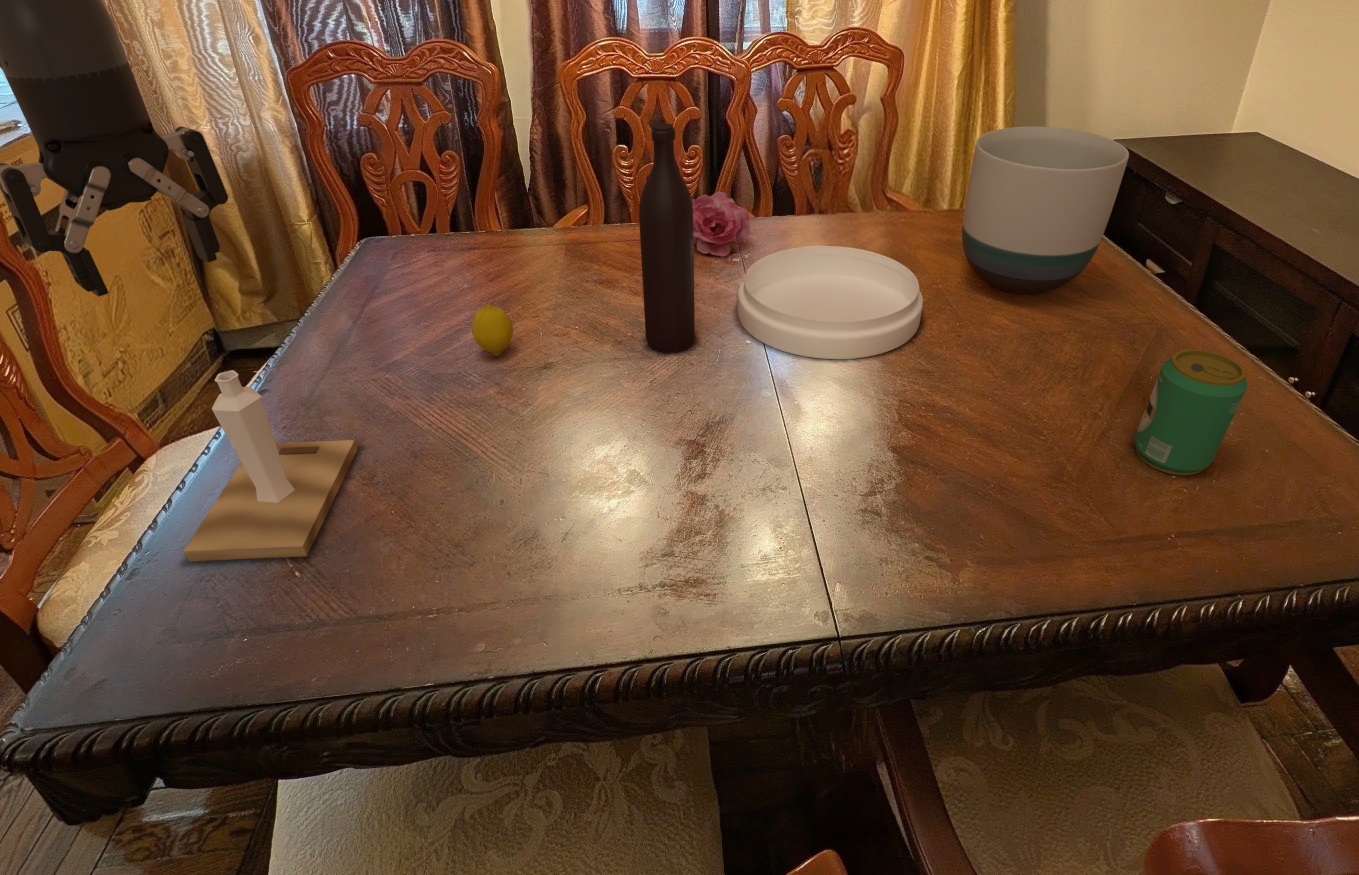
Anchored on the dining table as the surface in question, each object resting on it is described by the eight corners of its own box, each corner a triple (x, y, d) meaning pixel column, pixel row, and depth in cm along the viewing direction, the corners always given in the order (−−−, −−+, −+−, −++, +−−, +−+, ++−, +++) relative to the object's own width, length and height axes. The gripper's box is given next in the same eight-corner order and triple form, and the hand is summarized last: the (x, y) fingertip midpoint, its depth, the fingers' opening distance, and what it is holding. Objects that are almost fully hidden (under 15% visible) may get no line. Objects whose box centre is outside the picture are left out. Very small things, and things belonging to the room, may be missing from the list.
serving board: (307, 556, 82) (302, 544, 81) (188, 561, 82) (182, 549, 81) (357, 449, 96) (354, 438, 95) (257, 453, 96) (252, 442, 95)
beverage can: (1138, 427, 96) (1172, 339, 89) (1214, 449, 92) (1256, 359, 85) (1124, 461, 91) (1159, 371, 84) (1203, 486, 87) (1247, 394, 80)
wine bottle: (701, 349, 113) (699, 130, 95) (653, 357, 112) (641, 137, 94) (687, 326, 119) (682, 115, 101) (640, 333, 117) (628, 121, 99)
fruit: (512, 341, 116) (504, 291, 112) (520, 359, 112) (511, 308, 108) (474, 348, 115) (464, 298, 110) (480, 367, 111) (469, 315, 106)
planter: (923, 277, 130) (946, 142, 117) (1005, 247, 138) (1035, 118, 126) (1029, 327, 116) (1069, 180, 103) (1114, 290, 125) (1160, 150, 112)
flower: (732, 275, 140) (705, 239, 132) (694, 263, 146) (666, 227, 139) (768, 224, 141) (743, 185, 133) (729, 214, 147) (703, 176, 140)
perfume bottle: (306, 479, 89) (261, 364, 81) (285, 505, 86) (236, 388, 77) (268, 476, 90) (219, 362, 81) (246, 502, 87) (192, 385, 78)
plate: (958, 331, 115) (966, 297, 112) (799, 378, 106) (801, 343, 103) (849, 262, 135) (852, 231, 132) (706, 297, 126) (706, 265, 123)
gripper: (-39, 87, 50) (77, 319, 60) (191, 52, 59) (262, 259, 69) (-71, 73, 54) (43, 293, 64) (149, 42, 63) (221, 239, 73)
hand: (156, 275), depth 66 cm, fingers open, 8 cm apart
